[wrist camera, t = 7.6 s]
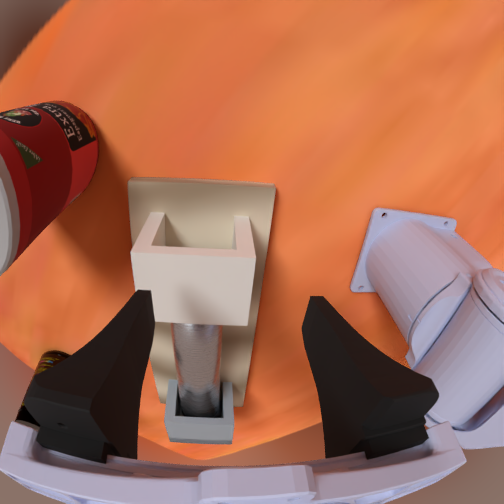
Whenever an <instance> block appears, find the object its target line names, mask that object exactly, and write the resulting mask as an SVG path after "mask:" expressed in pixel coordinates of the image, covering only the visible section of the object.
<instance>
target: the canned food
mask: <svg viewBox="0 0 504 504" xmlns="http://www.w3.org/2000/svg"><path fill="white" fill-rule="evenodd" d="M98 153H99V146H98V138H97V133H96V130H95V128H94V125H93V123H92V121H91V120H90V118H89V117H88V115H87V114H86V113H84V112H83V111H82V110H81V109H80V108H78V107H76V106H74V105H73V104H71V103H68V102H64V101H50V102H45V103H39V104H35V105H30V106H25V107H21V108H17V109H13V110H9V111H5V112H1V113H0V276H1V275H2V273H4V272H5V271H6V270H7V269H8V268H9V267H10V266H11V265H12V263H13V262H14V261H15V260H16V259H17V258H18V257H19V256H20V255H21V254H22V253H23V252H24V250H25V249H26V248H27V247H28V246H29V245H30V244H31V243H32V242H33V241H34V239H35V238H36V237H37V236H38V235H39V234H40V233H41V232H42V231H43V230H44V229H45V228H46V227H47V226H48V225H49V224H50V223H51V222H52V221H53V220H54V219H55V218H56V217H57V216H58V215H59V214H60V213H61V212H62V211H63V210H64V209H65V208H66V207H67V206H68V205H69V204H70V203H71V202H73V201H74V200H75V199H76V198H77V197H78V196H79V195H80V194H81V193H82V192H83V191H84V190H85V188H86V187H87V186H88V184H89V183H90V180H91V178H92V176H93V174H94V171H95V168H96V165H97V161H98Z"/></svg>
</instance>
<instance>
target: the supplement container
mask: <svg viewBox="0 0 504 504" xmlns="http://www.w3.org/2000/svg"><path fill="white" fill-rule="evenodd" d="M68 357H70V355H68V354H66V353H63V352H60V351H48V352H45V353H44V354H43V355H42V356H41V358H40V361H39V363H38V365H37V367H36V370H35V372H34V374H33V377H34V375H36V374H38V373H40V372H43V371H45V370H47V369H49V368H51V367H53V366H55V365H56V364H58V363H60V362H62V361H63V360H65V359H66V358H68ZM33 377H32V379H33ZM32 379H31V381H32ZM31 381H30V383H31ZM29 386H30V384H29ZM29 386H28V389H29ZM28 389H27V391H28ZM27 391H26V394H27ZM26 394H25V396H26ZM25 396H24V399H25ZM24 399H23V401H22V404H21V407H20V409H19V410H18V414H17V417H16V420H15V422H17V423H20V424H23V425H26V426H29V427H31V428H33V429H35V430H37V431H38V432H39V429H40V425H39V423H38V422H37V421H36V420H35V419H34V418H33V416H32V415H31V414H30V413H29V412H28V410H27V409H26V407H25V405H24Z"/></svg>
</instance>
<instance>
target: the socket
mask: <svg viewBox="0 0 504 504" xmlns="http://www.w3.org/2000/svg"><path fill="white" fill-rule="evenodd" d="M164 423H165V426H166V430H167V433H168V436H169V440H170V442H181V443H197V444H232V439H233V431H234V411H233V392H232V382H223V385H222V400H219V415H218V418H201V417H183V415H182V410H181V401H180V395H179V388H178V381H177V380H173V379H169V382H168V390H167V399H166V409H165V418H164Z"/></svg>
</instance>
